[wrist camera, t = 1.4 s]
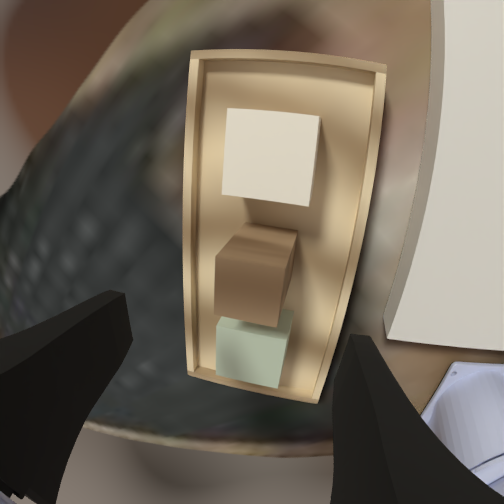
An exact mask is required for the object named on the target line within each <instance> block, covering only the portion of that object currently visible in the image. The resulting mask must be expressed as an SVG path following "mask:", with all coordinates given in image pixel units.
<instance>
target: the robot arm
mask: <svg viewBox="0 0 504 504" xmlns="http://www.w3.org/2000/svg"><path fill="white" fill-rule="evenodd" d="M132 341H133V337H132V332H131V327H130V321H129V316H128V310H127V304H126V298H125V293H121V292H117V291H113V290H108V291H106V292H103V293H101V294H99V295H97V296H94V297H92V298H90V299H88V300H86V301H84V302H82V303H80V304H78V305H76V306H74V307H72V308H70V309H68V310H66V311H64V312H62V313H60V314H59V315H56V316H54V317H52V318H50V319H48V320H46V321H44V322H41V323H39V324H37V325H35V326H33V327H31V328H28V329H26V330H23V331H21V332H18V333H16V334H13V335H10V336H7V337H4V338H1V339H0V504H16V503H15V502H14V501H12V500H11V499H10V497H11V495H12V493H13V494H14V495H16V496H17V497H18V498H20V499H23V498H24V496H26V497H28V498H29V499H31V500H32V501H33V502H35V503H37V504H56V500H57V496H58V491H59V488H60V484H61V480H62V477H63V474H64V471H65V468H66V465H67V462H68V459H69V457H70V454H71V451H72V449H73V447H74V444H75V442H76V439H77V437H78V435H79V433H80V431H81V428H82V426H83V424H84V422H85V420H86V418H87V417H88V415H89V413H90V411H91V410H92V408H93V407H94V405H95V404H96V402H97V401H98V399H99V397H100V396H101V394H102V393H103V391H104V390H105V388H106V387H107V385H108V384H109V382H110V381H111V379H112V378H113V376H114V375H115V373H116V372H117V370H118V369H119V367H120V366H121V364H122V362H123V360H124V358H125V356H126V354H127V352H128V350H129V348H130V346H131V343H132ZM452 372H453V373H452ZM332 416H333V452H334V474H333V487H332V494H331V502H330V504H504V364H488V363H471V362H454V363H453V364H451V366H450V367H449V369H448V371H447V373H446V375H445V376H444V378H443V380H442V382H441V383H440V385H439V387H438V388H437V390H436V392H435V393H434V395H433V397H432V398H431V400H430V401H429V403H428V405H427V406H426V408H425V409H424V411H423V412H422V414H421V415H419V413H418V412H417V411H416V409H415V408H414V406H413V405H412V404H411V402H410V401H409V399H408V398H407V396H406V395H405V393H404V392H403V390H402V388H401V387H400V385H399V384H398V382H397V381H396V379H395V377H394V376H393V374H392V372H391V371H390V369H389V367H388V366H387V364H386V362H385V361H384V359H383V357H382V356H381V354H380V352H379V350H378V349H377V347H376V345H375V344H374V342H373V340H372V339H371V337H370V336H365V335H357V334H350V337H349V340H348V343H347V346H346V349H345V352H344V355H343V357H342V360H341V363H340V366H339V369H338V371H337V374H336V377H335V379H334V392H333V405H332Z"/></svg>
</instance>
